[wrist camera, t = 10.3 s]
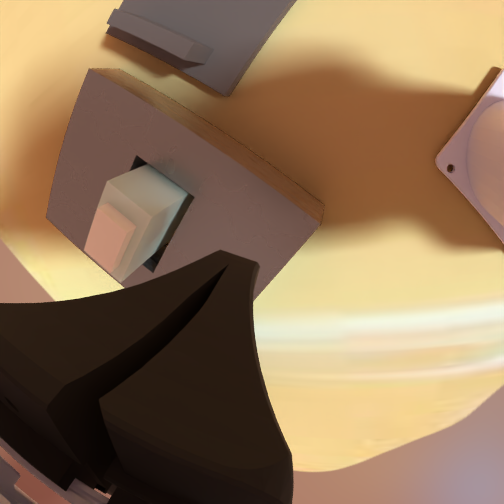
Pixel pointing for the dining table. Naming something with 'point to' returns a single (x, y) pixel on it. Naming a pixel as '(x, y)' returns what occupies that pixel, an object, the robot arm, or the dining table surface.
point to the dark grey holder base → (200, 34)
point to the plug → (135, 219)
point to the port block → (177, 179)
